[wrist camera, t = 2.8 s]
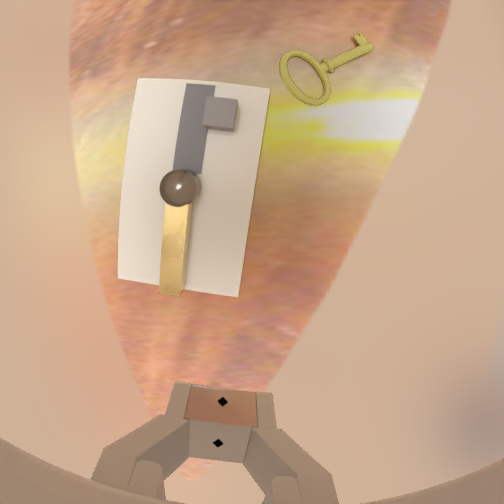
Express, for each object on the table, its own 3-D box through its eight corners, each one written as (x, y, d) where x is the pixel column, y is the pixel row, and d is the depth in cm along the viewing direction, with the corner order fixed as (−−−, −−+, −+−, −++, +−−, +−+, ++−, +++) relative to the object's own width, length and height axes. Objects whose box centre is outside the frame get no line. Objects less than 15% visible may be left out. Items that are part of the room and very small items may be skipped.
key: (371, 50, 29) (378, 45, 27) (314, 113, 32) (318, 110, 30) (327, 14, 28) (331, 7, 26) (265, 75, 31) (266, 70, 29)
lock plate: (141, 80, 30) (128, 70, 26) (269, 91, 31) (272, 81, 27) (121, 274, 36) (107, 287, 32) (238, 293, 37) (237, 309, 33)
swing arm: (170, 167, 31) (161, 168, 28) (203, 171, 32) (197, 172, 28) (160, 282, 35) (151, 295, 31) (190, 287, 35) (184, 300, 32)
